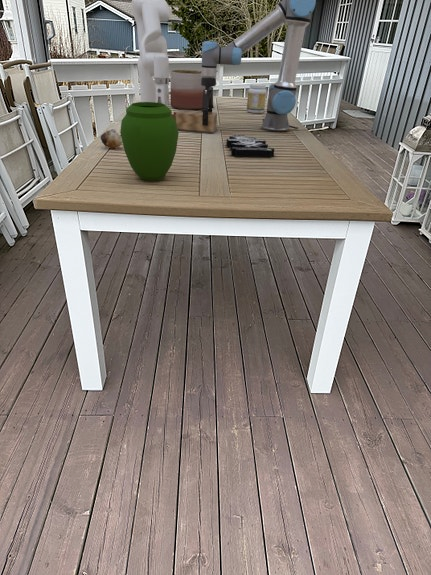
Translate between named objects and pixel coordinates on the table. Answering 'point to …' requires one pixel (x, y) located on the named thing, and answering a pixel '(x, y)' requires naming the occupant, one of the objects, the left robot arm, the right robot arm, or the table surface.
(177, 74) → the planter
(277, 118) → the right robot arm
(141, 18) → the left robot arm
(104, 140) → the seashell
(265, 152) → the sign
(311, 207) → the table surface
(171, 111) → the drawer
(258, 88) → the supplement tub
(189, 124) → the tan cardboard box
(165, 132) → the vase
